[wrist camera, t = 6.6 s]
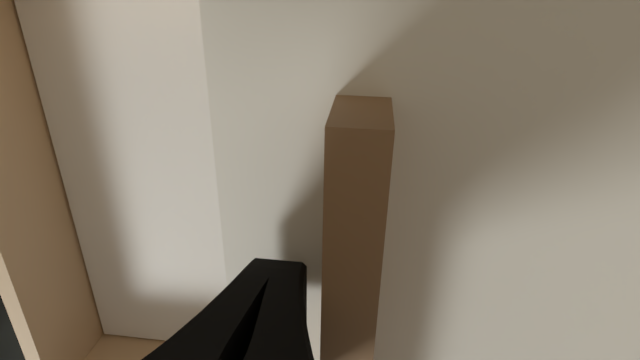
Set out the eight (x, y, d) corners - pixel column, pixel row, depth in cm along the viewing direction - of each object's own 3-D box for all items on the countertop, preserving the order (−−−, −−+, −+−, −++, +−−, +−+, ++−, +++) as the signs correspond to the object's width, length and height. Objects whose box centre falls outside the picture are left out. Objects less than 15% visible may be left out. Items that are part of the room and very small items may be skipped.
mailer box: (356, 358, 19) (352, 446, 16) (102, 330, 20) (43, 406, 17) (386, -50, 12) (389, -60, 9) (-2, -54, 13) (-139, -64, 10)
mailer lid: (592, 480, 15) (637, 585, 12) (247, 435, 16) (223, 522, 13) (851, -56, 8) (1079, -72, 5) (203, -62, 9) (135, -76, 6)
